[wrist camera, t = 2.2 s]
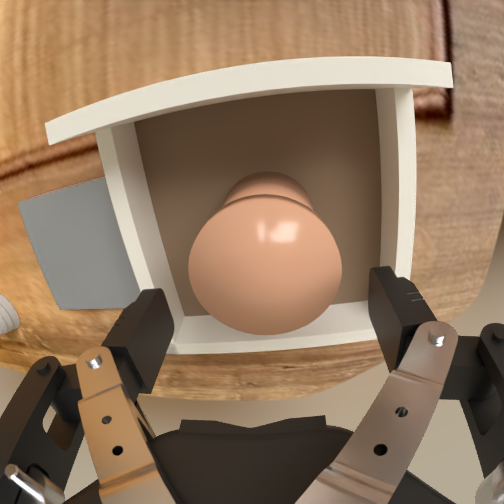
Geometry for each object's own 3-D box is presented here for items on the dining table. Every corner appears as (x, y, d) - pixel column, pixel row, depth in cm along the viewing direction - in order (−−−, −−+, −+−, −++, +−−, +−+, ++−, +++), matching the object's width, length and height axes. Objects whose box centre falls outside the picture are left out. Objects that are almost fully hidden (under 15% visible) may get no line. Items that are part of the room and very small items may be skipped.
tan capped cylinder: (207, 172, 18) (172, 213, 12) (315, 159, 17) (339, 193, 11) (226, 265, 21) (206, 338, 14) (322, 256, 20) (341, 328, 14)
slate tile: (24, 199, 20) (17, 203, 19) (122, 171, 19) (116, 175, 18) (64, 303, 25) (59, 309, 24) (160, 299, 24) (156, 306, 23)
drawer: (123, 109, 17) (44, 123, 10) (383, 73, 15) (450, 62, 8) (179, 319, 24) (149, 397, 17) (385, 300, 22) (419, 379, 15)
